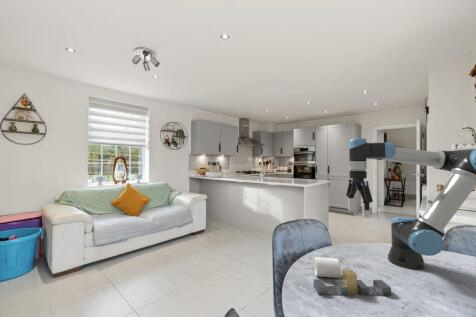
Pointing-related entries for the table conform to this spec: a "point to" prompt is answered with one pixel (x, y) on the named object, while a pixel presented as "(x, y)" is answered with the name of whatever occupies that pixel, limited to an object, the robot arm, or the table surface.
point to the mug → (327, 267)
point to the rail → (362, 289)
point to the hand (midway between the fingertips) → (358, 213)
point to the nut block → (350, 280)
